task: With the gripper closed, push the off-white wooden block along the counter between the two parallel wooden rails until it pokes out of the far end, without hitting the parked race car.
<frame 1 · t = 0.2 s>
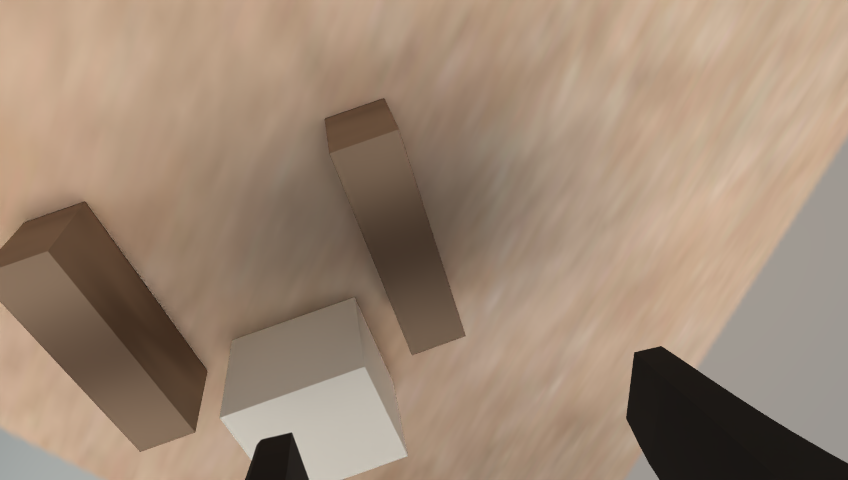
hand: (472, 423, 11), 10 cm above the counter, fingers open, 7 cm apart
parallel wooden rails: (259, 258, 19), on the counter
off-white block: (317, 360, 22), on the counter
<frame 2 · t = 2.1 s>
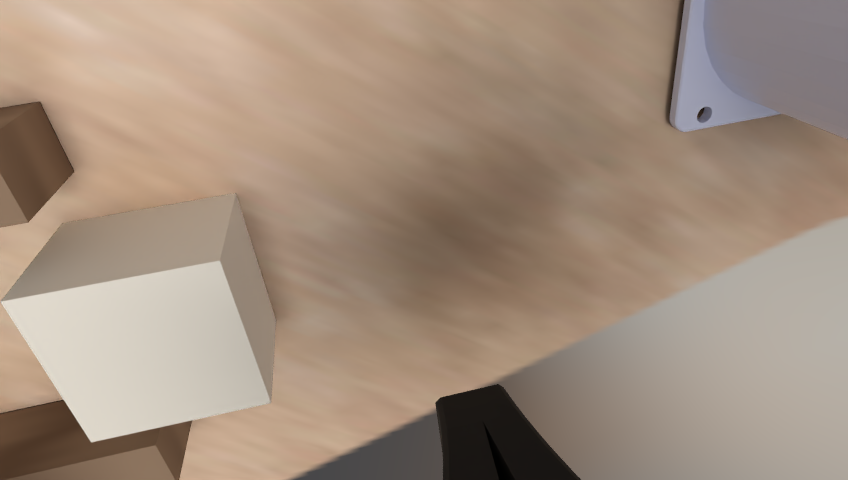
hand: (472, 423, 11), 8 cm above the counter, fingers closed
off-white block: (179, 273, 18), on the counter
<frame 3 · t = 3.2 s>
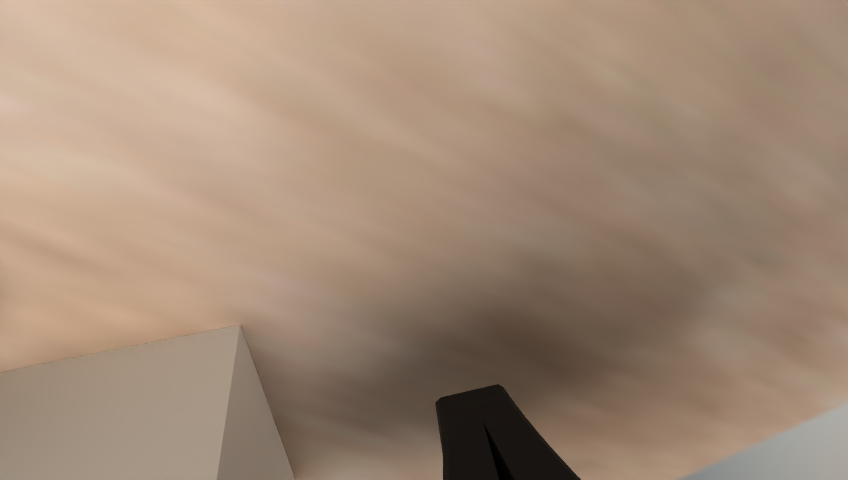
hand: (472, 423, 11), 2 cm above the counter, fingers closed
off-white block: (157, 429, 12), on the counter
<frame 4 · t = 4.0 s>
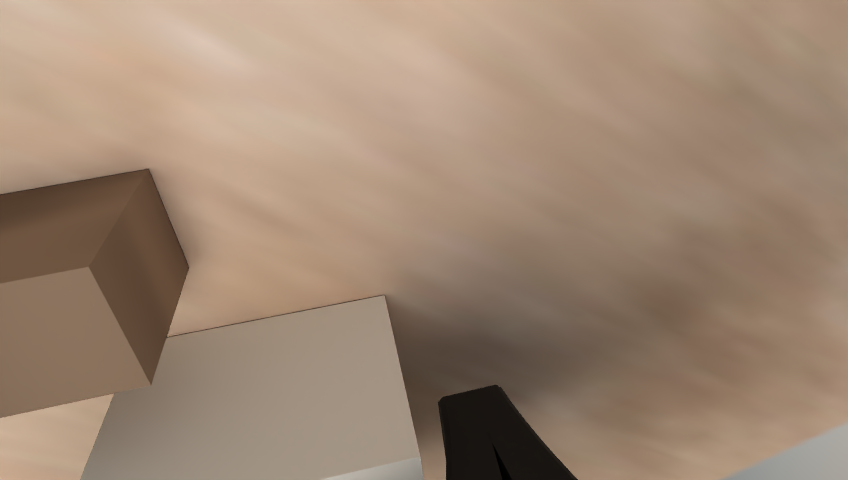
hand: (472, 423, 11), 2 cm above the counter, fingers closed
parallel wooden rails: (61, 456, 12), on the counter
off-white block: (290, 404, 12), on the counter, touching gripper
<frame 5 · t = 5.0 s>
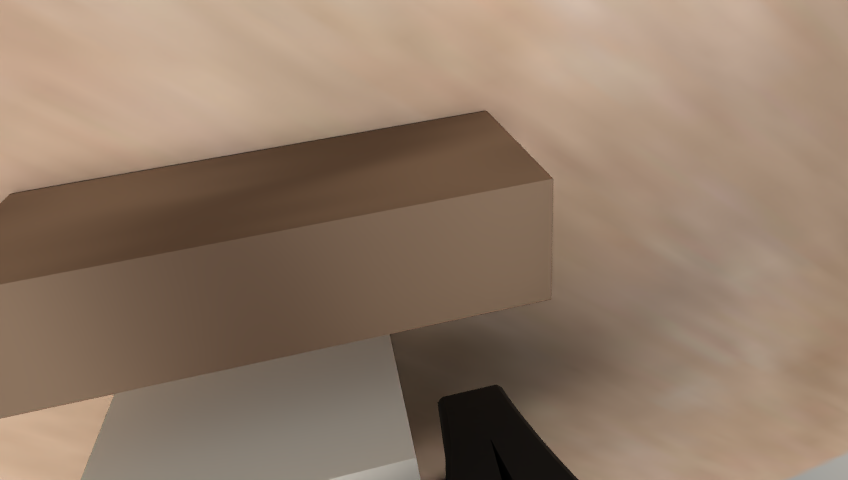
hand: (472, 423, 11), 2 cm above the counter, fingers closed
parallel wooden rails: (330, 396, 12), on the counter
off-white block: (290, 406, 12), on the counter, touching gripper
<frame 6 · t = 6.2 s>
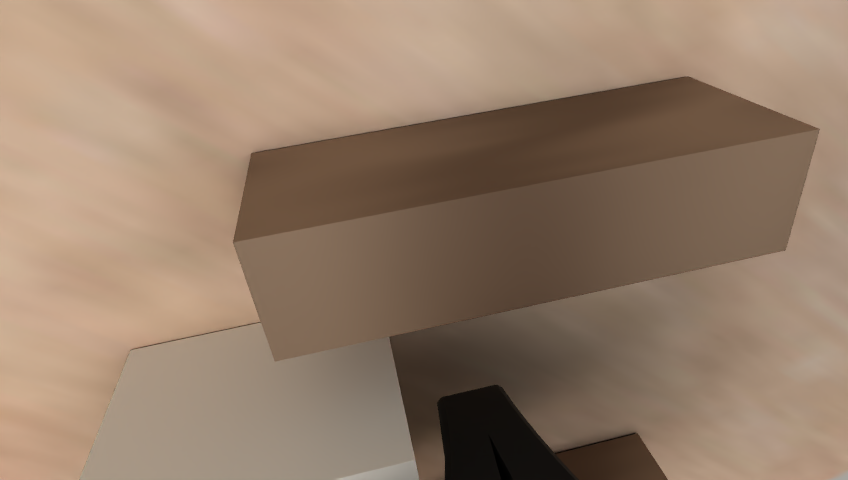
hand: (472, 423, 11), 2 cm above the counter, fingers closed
parallel wooden rails: (494, 360, 13), on the counter
off-white block: (288, 407, 12), on the counter, touching gripper
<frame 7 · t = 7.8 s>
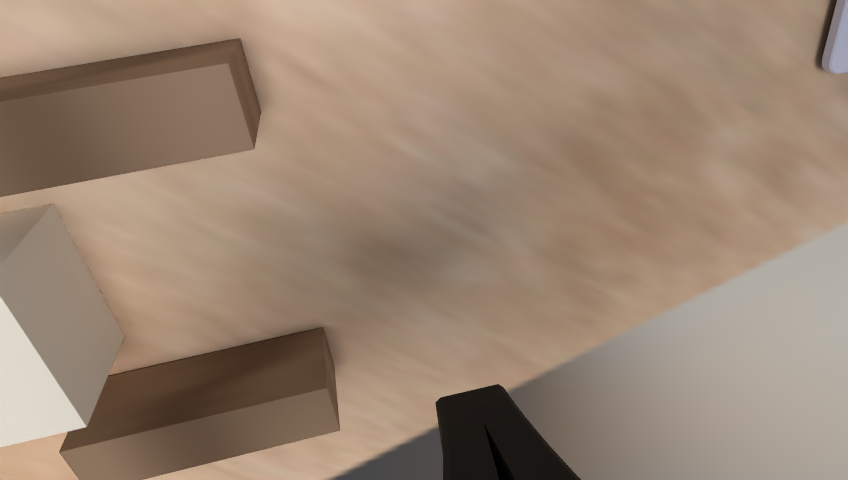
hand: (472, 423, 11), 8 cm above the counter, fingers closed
parallel wooden rails: (167, 259, 17), on the counter
off-white block: (7, 289, 17), on the counter
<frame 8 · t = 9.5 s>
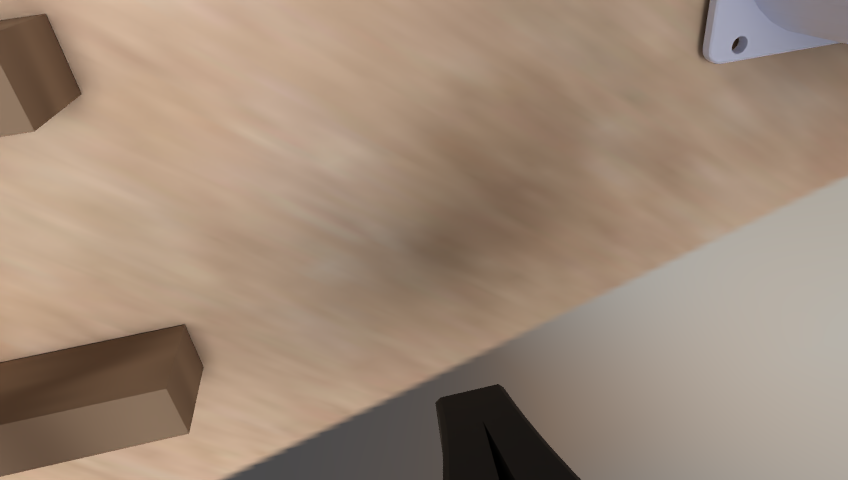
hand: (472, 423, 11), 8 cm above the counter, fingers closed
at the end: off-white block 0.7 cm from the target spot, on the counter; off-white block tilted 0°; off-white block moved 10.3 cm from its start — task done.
